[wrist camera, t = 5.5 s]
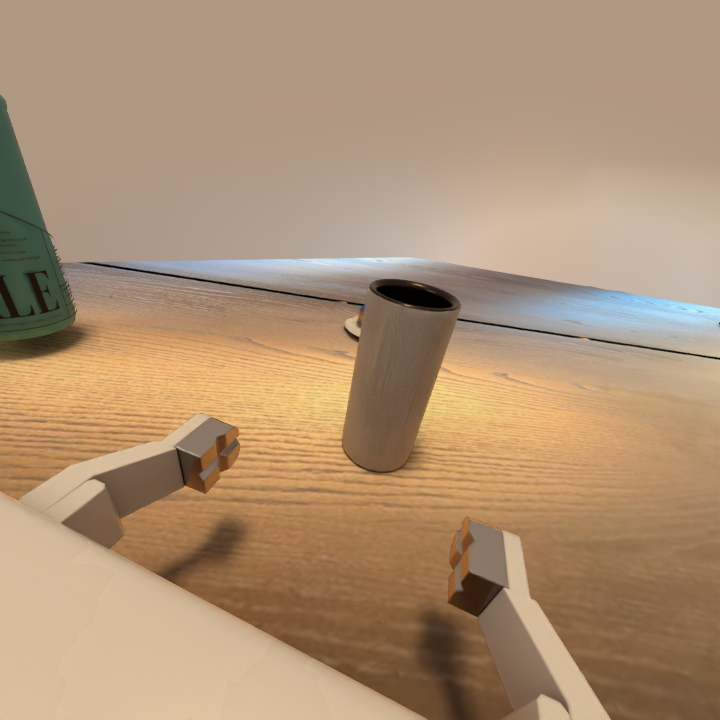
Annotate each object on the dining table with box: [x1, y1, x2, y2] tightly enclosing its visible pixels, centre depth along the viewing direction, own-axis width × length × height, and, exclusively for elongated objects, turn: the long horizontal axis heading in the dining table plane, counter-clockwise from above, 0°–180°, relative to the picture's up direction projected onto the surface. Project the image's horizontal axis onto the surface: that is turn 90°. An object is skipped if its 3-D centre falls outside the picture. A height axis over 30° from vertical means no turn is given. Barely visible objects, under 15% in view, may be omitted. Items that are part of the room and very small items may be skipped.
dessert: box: [344, 304, 365, 337], centre depth 35 cm, size 8×7×6 cm
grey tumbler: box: [342, 279, 461, 472], centre depth 17 cm, size 4×4×10 cm
